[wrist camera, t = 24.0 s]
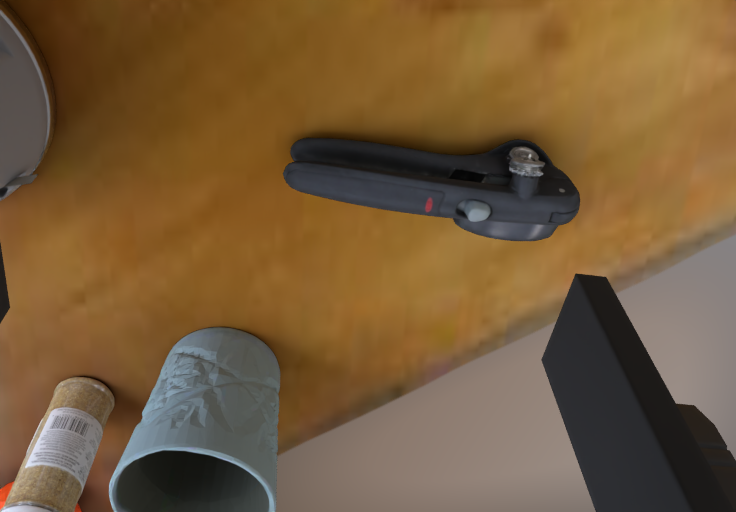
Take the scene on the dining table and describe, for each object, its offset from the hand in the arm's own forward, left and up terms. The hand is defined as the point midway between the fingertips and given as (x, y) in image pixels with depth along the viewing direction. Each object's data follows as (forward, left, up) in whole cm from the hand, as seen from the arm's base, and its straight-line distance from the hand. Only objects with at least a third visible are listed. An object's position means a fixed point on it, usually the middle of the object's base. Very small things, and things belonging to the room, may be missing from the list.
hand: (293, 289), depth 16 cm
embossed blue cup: (-4, -28, -27) cm, 39 cm away
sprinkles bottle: (-14, -32, -27) cm, 44 cm away
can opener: (+8, -9, -27) cm, 29 cm away
